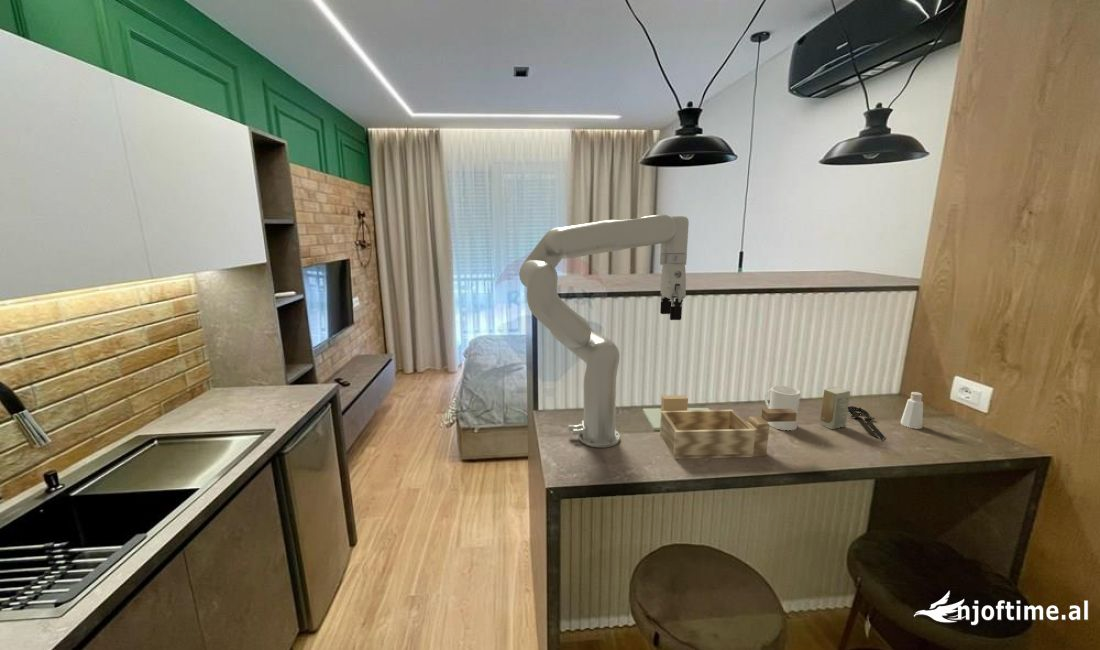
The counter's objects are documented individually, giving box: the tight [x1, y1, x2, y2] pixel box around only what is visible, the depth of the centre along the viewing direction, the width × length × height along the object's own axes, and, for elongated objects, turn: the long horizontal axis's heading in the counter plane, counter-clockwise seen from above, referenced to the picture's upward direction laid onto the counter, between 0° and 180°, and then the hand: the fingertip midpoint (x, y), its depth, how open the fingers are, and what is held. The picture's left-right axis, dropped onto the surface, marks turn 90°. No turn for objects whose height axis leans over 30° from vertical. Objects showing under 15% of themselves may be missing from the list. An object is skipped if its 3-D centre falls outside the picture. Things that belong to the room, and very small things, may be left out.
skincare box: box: [819, 386, 851, 430], centre depth 133 cm, size 6×4×12 cm
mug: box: [764, 385, 801, 432], centre depth 136 cm, size 12×8×12 cm
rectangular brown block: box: [761, 408, 797, 422], centre depth 117 cm, size 8×3×2 cm, turn 92°
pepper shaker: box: [900, 391, 924, 430], centre depth 133 cm, size 5×5×11 cm
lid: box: [642, 394, 711, 431], centre depth 139 cm, size 23×15×8 cm, turn 91°
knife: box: [848, 405, 886, 441], centre depth 136 cm, size 25×6×1 cm, turn 155°
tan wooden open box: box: [659, 409, 770, 460], centre depth 121 cm, size 26×14×10 cm, turn 92°
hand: (670, 316), depth 126 cm, fingers open, 9 cm apart
